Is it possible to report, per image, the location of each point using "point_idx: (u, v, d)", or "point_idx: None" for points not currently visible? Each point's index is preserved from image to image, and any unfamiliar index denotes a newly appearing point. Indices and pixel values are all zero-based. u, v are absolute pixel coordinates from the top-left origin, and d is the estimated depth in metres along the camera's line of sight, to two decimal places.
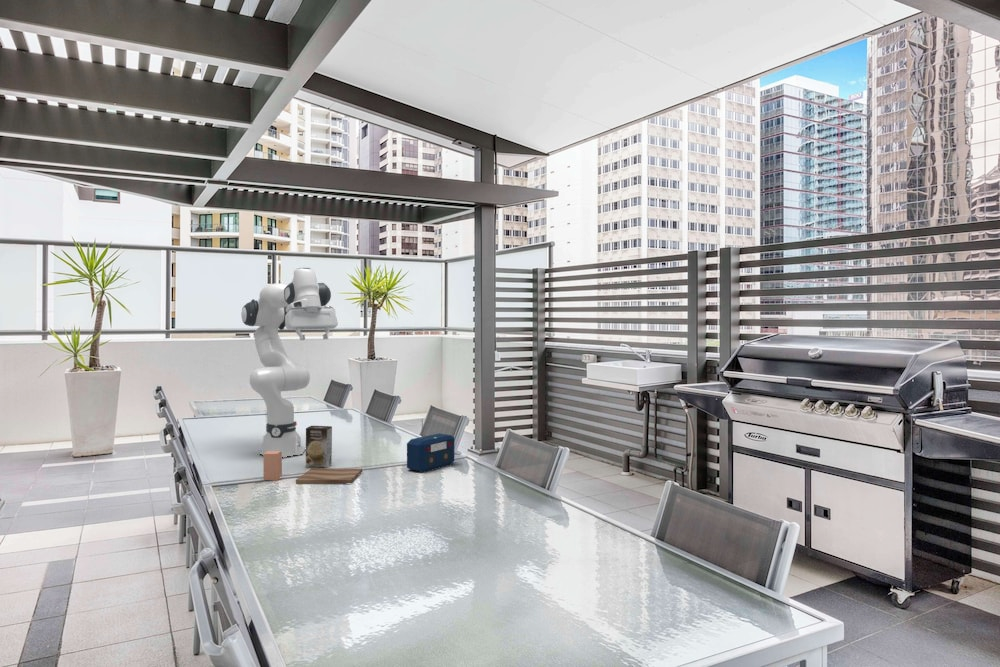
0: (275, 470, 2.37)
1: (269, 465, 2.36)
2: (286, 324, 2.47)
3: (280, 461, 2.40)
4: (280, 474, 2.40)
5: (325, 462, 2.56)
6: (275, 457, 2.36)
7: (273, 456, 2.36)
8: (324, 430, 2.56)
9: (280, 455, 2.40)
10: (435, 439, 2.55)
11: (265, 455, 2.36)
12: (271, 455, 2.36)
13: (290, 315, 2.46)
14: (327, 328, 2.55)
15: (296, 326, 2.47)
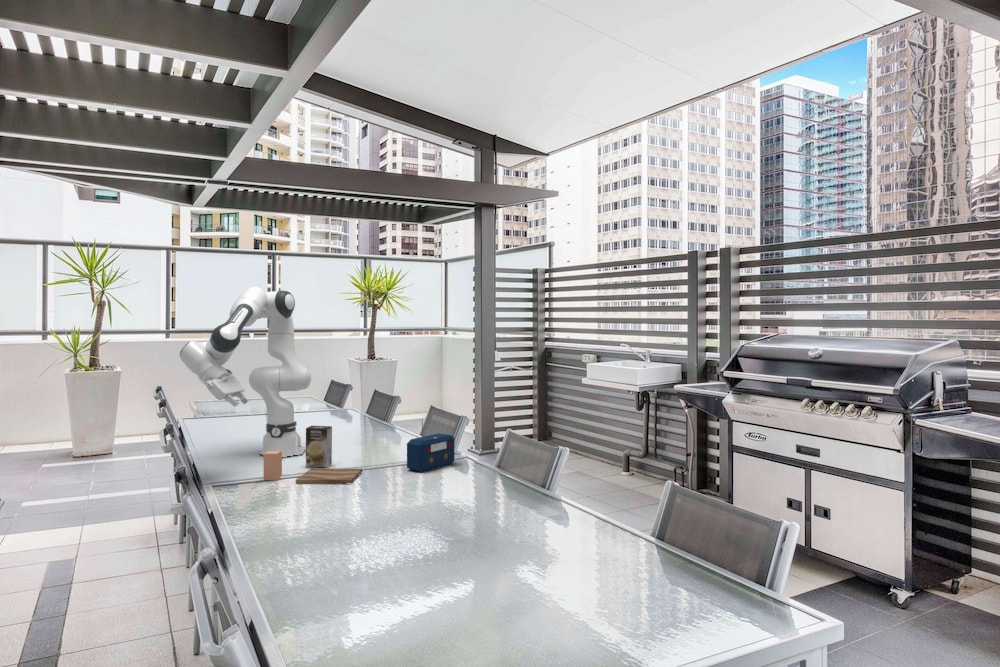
0: (275, 470, 2.37)
1: (269, 465, 2.37)
2: None
3: (280, 461, 2.40)
4: (280, 474, 2.40)
5: (325, 462, 2.56)
6: (275, 457, 2.36)
7: (273, 456, 2.36)
8: (324, 430, 2.56)
9: (280, 455, 2.40)
10: (435, 439, 2.55)
11: (265, 455, 2.36)
12: (271, 455, 2.36)
13: None
14: None
15: None
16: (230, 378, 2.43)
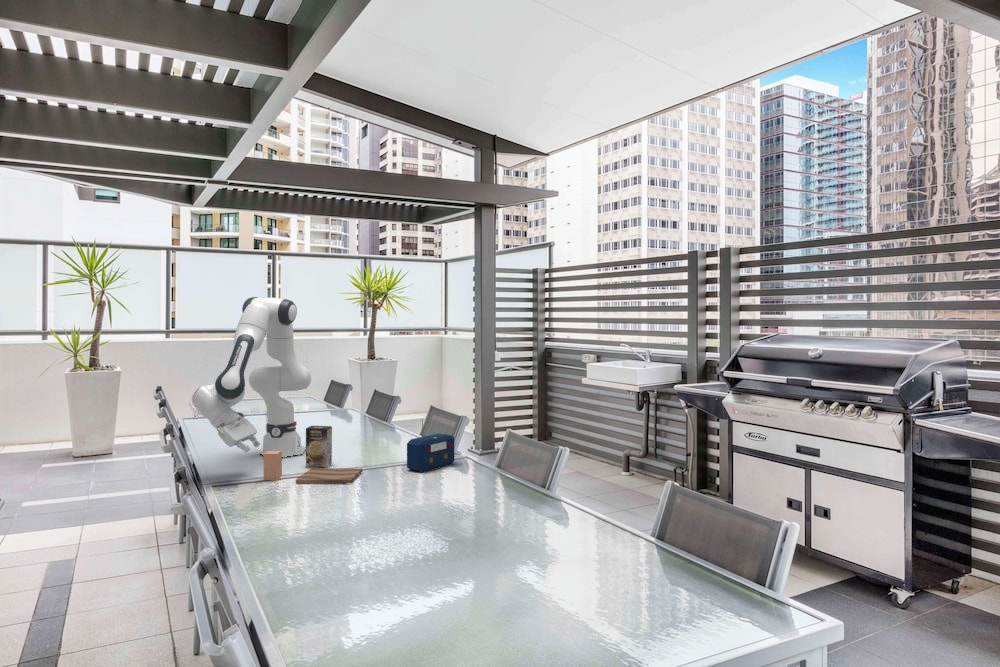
0: (275, 470, 2.37)
1: (269, 465, 2.37)
2: None
3: (280, 461, 2.40)
4: (280, 474, 2.40)
5: (325, 462, 2.56)
6: (275, 457, 2.36)
7: (273, 456, 2.36)
8: (324, 430, 2.56)
9: (280, 455, 2.40)
10: (435, 439, 2.55)
11: (265, 455, 2.36)
12: (271, 455, 2.36)
13: None
14: None
15: None
16: (242, 422, 2.43)
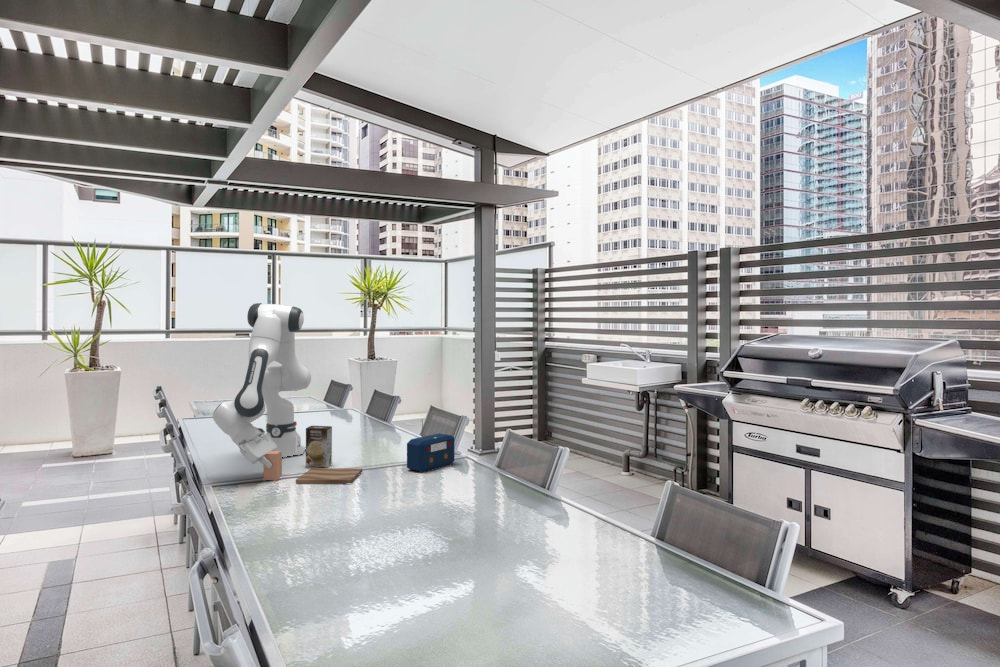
0: (275, 470, 2.37)
1: None
2: None
3: (280, 461, 2.40)
4: (280, 474, 2.40)
5: (325, 462, 2.56)
6: (275, 457, 2.36)
7: (273, 455, 2.36)
8: (324, 430, 2.56)
9: (280, 455, 2.40)
10: (435, 439, 2.55)
11: (265, 455, 2.36)
12: (271, 455, 2.36)
13: None
14: None
15: None
16: (263, 437, 2.43)
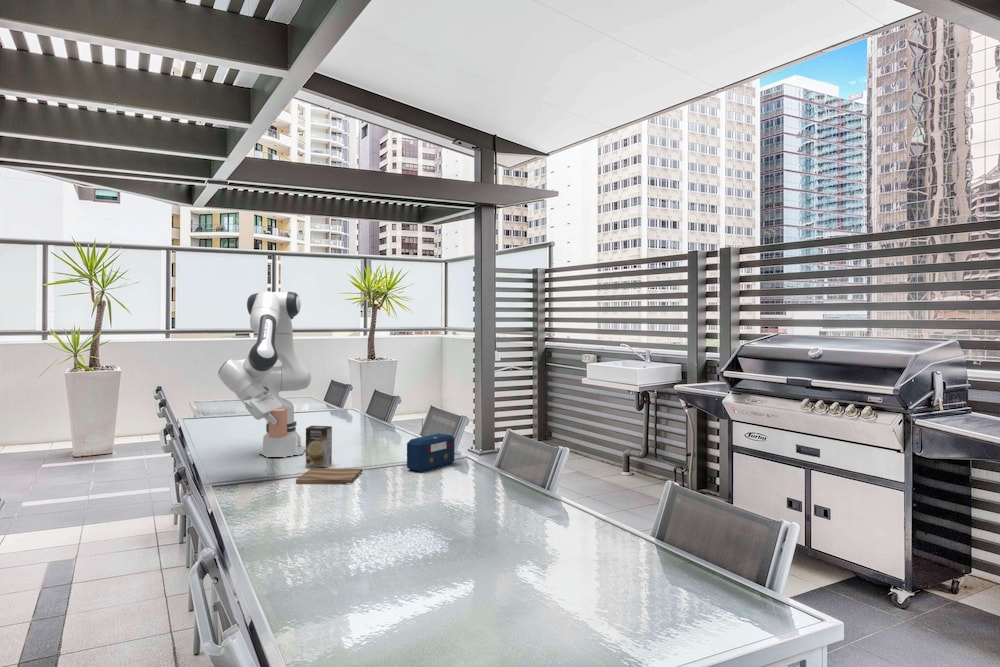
0: (280, 427, 2.36)
1: None
2: None
3: (285, 419, 2.40)
4: (285, 432, 2.40)
5: (325, 462, 2.56)
6: (280, 414, 2.36)
7: (279, 412, 2.36)
8: (324, 430, 2.56)
9: (285, 413, 2.39)
10: (435, 439, 2.55)
11: (270, 412, 2.36)
12: (276, 412, 2.36)
13: None
14: None
15: None
16: (268, 396, 2.43)
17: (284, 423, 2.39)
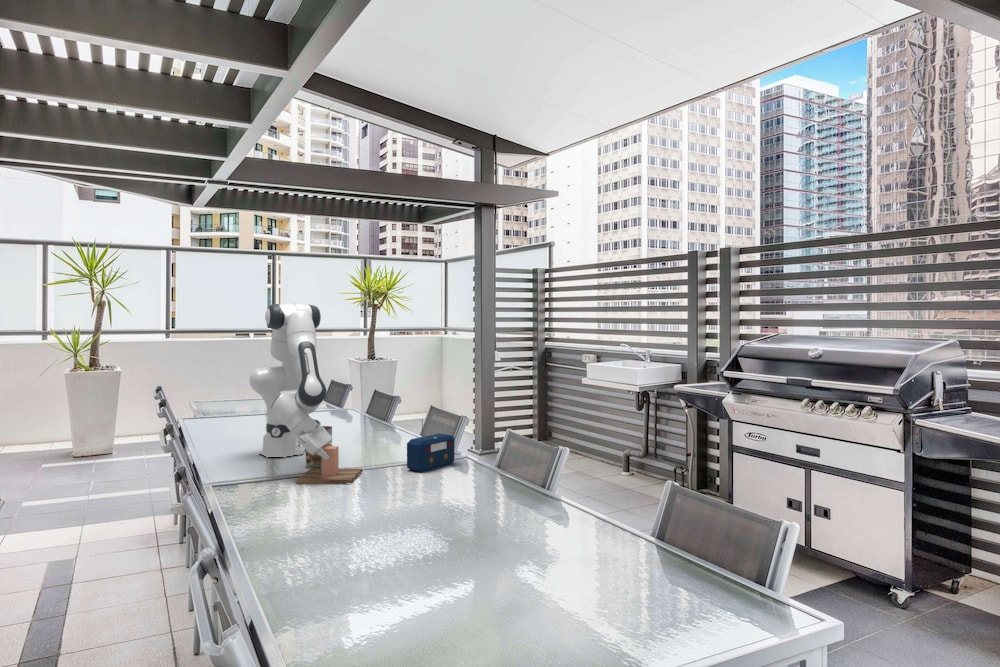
0: (332, 464, 2.38)
1: (327, 460, 2.38)
2: None
3: (337, 456, 2.42)
4: (337, 469, 2.42)
5: None
6: (333, 452, 2.38)
7: (331, 450, 2.38)
8: None
9: (337, 450, 2.41)
10: (435, 439, 2.55)
11: (323, 450, 2.38)
12: (329, 450, 2.38)
13: None
14: None
15: None
16: (319, 429, 2.45)
17: (336, 461, 2.40)
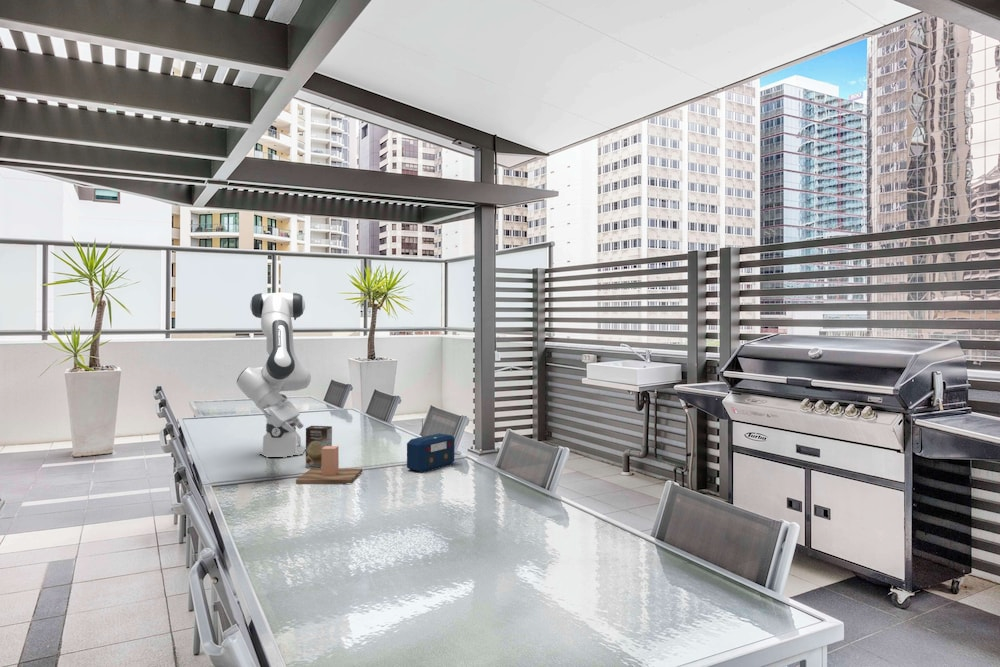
0: (332, 464, 2.38)
1: (327, 460, 2.38)
2: None
3: (337, 456, 2.42)
4: (337, 469, 2.42)
5: None
6: (333, 452, 2.38)
7: (331, 450, 2.38)
8: (324, 430, 2.56)
9: (337, 450, 2.41)
10: (435, 439, 2.55)
11: (323, 450, 2.38)
12: (329, 450, 2.38)
13: None
14: None
15: None
16: (285, 403, 2.45)
17: (336, 461, 2.40)
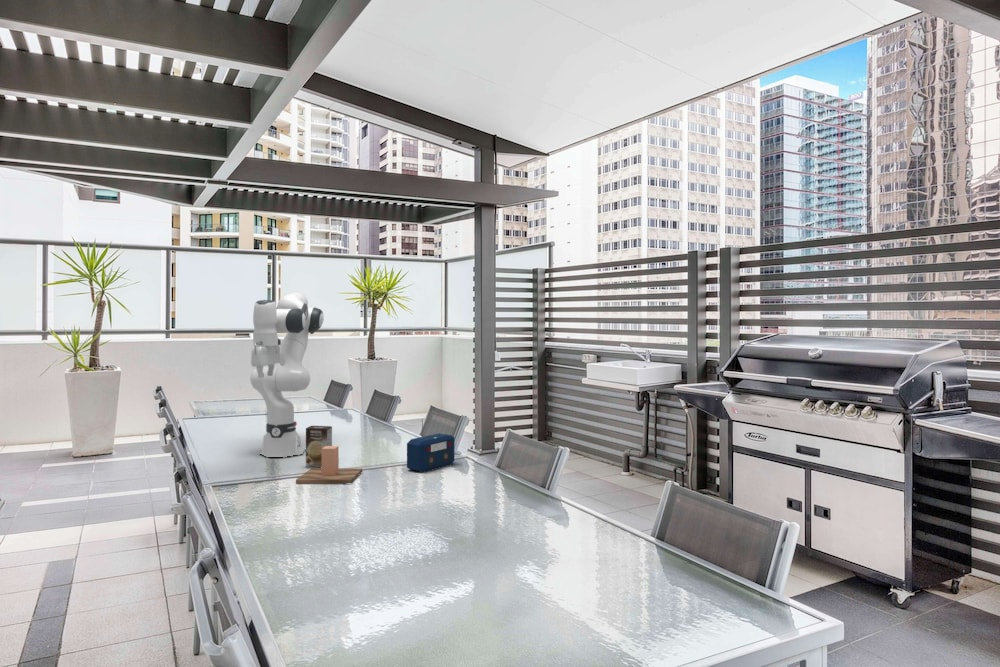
0: (332, 464, 2.38)
1: (327, 460, 2.38)
2: None
3: (337, 456, 2.42)
4: (337, 469, 2.42)
5: None
6: (333, 452, 2.38)
7: (331, 450, 2.38)
8: (324, 430, 2.56)
9: (337, 450, 2.41)
10: (435, 439, 2.55)
11: (323, 450, 2.38)
12: (329, 450, 2.38)
13: None
14: None
15: None
16: (275, 349, 2.55)
17: (336, 461, 2.40)
